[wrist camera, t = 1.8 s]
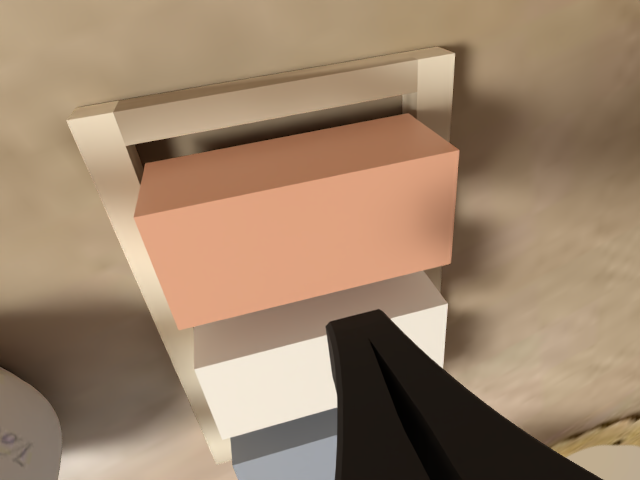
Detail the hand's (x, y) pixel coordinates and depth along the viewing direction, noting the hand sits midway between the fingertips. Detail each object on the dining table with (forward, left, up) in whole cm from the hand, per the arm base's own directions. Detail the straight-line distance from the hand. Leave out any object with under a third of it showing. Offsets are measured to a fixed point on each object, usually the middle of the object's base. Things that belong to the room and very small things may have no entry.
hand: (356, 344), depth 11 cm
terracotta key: (0, 0, -9) cm, 9 cm away
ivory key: (-7, 0, -9) cm, 11 cm away
